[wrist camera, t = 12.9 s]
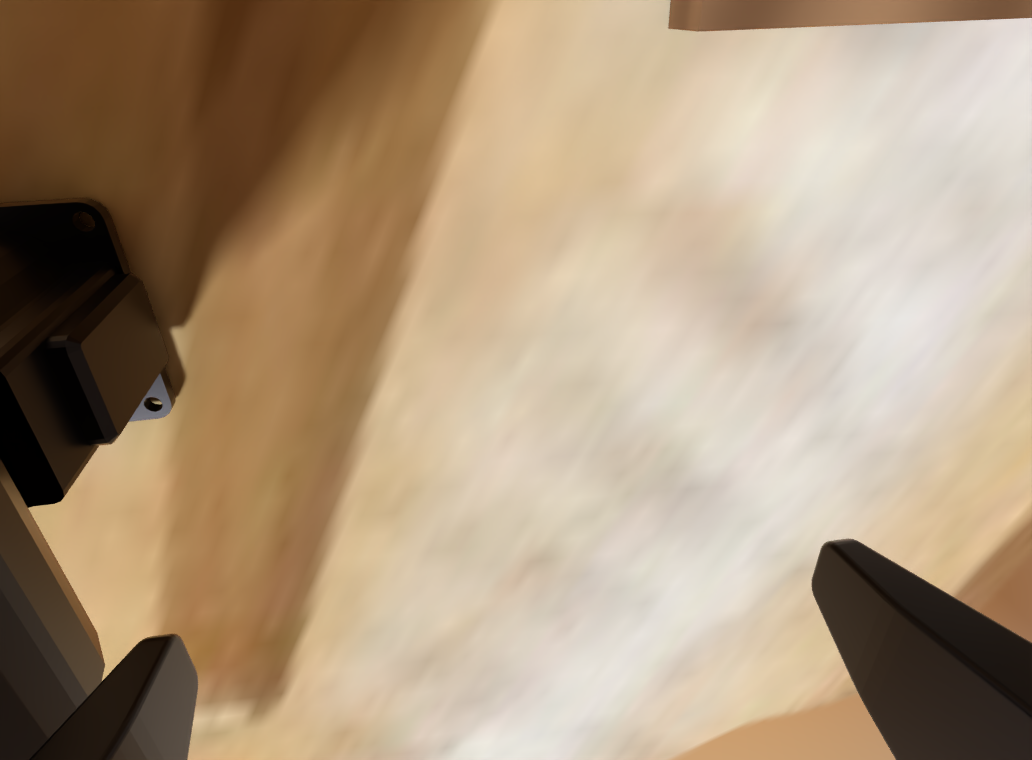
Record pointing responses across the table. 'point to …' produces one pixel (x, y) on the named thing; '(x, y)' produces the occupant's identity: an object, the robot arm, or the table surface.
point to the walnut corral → (834, 12)
